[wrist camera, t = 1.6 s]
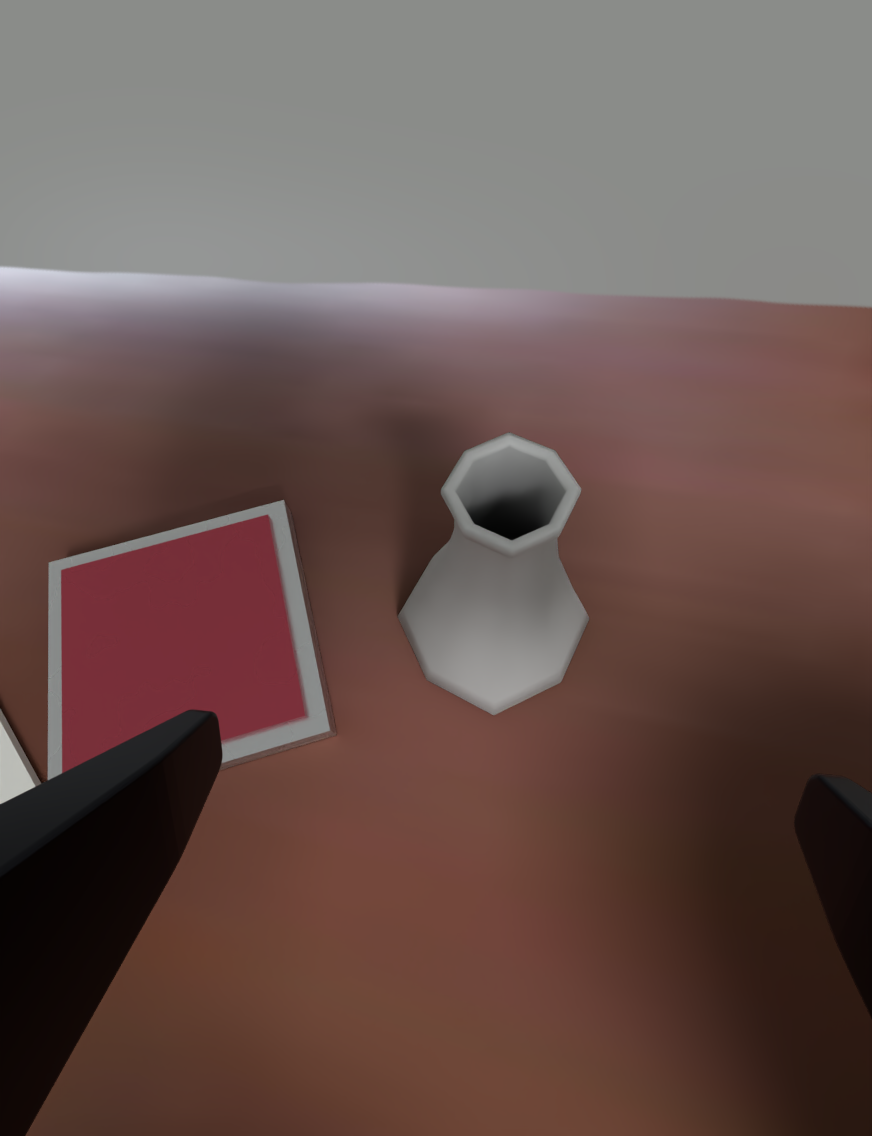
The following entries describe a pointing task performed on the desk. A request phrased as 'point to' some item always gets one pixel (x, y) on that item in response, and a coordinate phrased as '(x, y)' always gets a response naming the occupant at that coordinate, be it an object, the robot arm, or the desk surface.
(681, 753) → the desk surface
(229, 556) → the ink pad
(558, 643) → the flask
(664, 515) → the desk surface
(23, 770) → the marked board
